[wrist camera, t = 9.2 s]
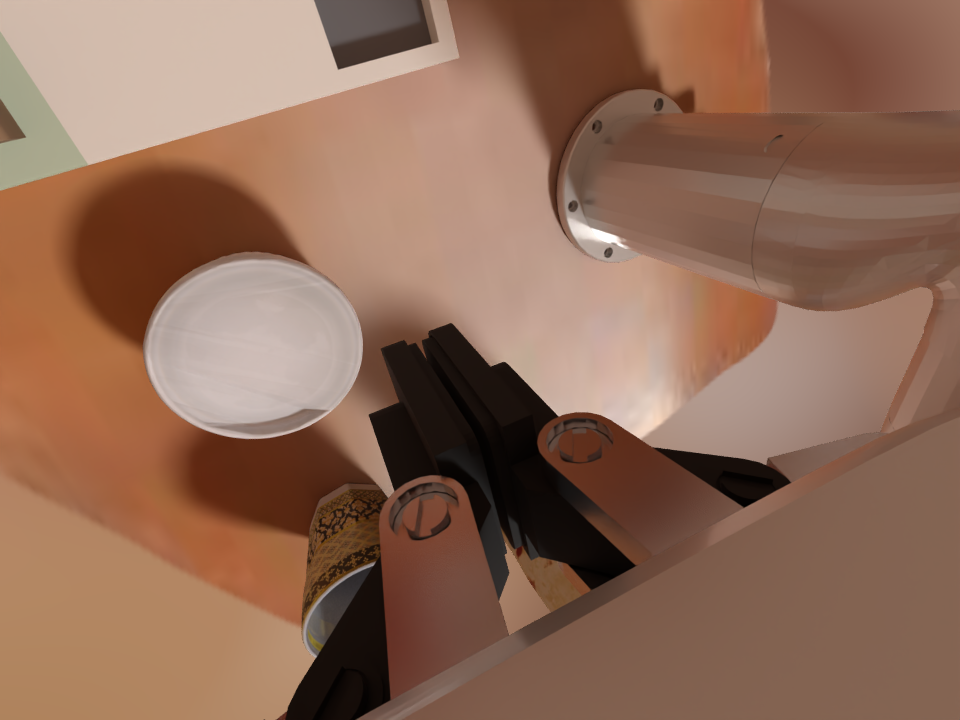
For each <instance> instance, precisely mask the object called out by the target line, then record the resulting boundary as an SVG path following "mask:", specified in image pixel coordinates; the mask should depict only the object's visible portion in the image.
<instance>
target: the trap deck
mask: <svg viewBox="0 0 960 720" xmlns="http://www.w3.org/2000/svg"><path fill="white" fill-rule="evenodd" d="M457 58H459V53H458V49H457V44H456V40H455V35H454V31H453V26H452V21H451V17H450V12H449V8H448V3H447V0H0V99H1V100H2V102H3V103H4V105H5V106H6V108H7V109H8V111H9V112H10V114H11V115H12V117H13V118H14V120H15V121H16V123H17V124H18V126H19V127H20V129H21V130H22V132H23V133H24V135H25V136H26V138H22V139H17V140H13V141H9V142H5V143H0V190H4V189H7V188H11V187H14V186H18V185H21V184H24V183H28V182H31V181H35V180H38V179H42V178H45V177H49V176H52V175H56V174H59V173H63V172H66V171H69V170H73V169H76V168H80V167H83V166H87V165H90V164H94V163H97V162H101V161H104V160H107V159H111V158H114V157H118V156H121V155H125V154H128V153H132V152H135V151H139V150H142V149H146V148H149V147H152V146H156V145H159V144H163V143H166V142H170V141H173V140H177V139H180V138H184V137H187V136H191V135H194V134H197V133H201V132H204V131H208V130H211V129H215V128H218V127H222V126H225V125H229V124H232V123H236V122H239V121H242V120H246V119H249V118H253V117H256V116H260V115H263V114H267V113H270V112H274V111H277V110H281V109H284V108H287V107H291V106H294V105H298V104H301V103H305V102H308V101H312V100H315V99H319V98H322V97H326V96H329V95H332V94H336V93H339V92H343V91H346V90H350V89H353V88H357V87H360V86H364V85H367V84H371V83H374V82H377V81H381V80H384V79H388V78H391V77H395V76H398V75H402V74H405V73H409V72H412V71H416V70H419V69H422V68H426V67H429V66H433V65H436V64H440V63H443V62H447V61H450V60H454V59H457Z"/></svg>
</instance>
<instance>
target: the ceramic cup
mask: <svg viewBox="0 0 960 720" xmlns="http://www.w3.org/2000/svg"><path fill="white" fill-rule="evenodd" d="M387 499H388V497H387V496H386V495H385V493H384V492H383V491H382V489H381V488H380V487H379V486H377V485H372V484H352V483H347V484H344V485H343V486H341V487H339V488H338V489H336V490H334V491H333V492H331V493H329V494H328V495H326V496H324V497H323V498H321V499H320V500H319V502H318V505H317V508H316V511H315V513H314V516H313V519H312V522H311V525H310V531H309V547H308V558H307V572H306V582H305V587H304V594H303V605H302V640H303V643H304V645H305V648H306V649H307V650H308V652H309V653H310V654H311V655H312V656H313V657H315V658H316V657H317V655H318V654H319V652H320V651H321V649H322V647H323V646H324V644H325V643H326V641H327V639H328V638H329V636H330V635H331V633H332V631H333V630H334V628H335V627H336V625H337V623H338V622H339V620H340V619H341V617H342V615H343V614H344V612H345V611H346V609H347V607H348V606H349V604H350V602H351V601H352V599H353V598H354V596H355V594H356V593H357V591H358V590H359V588H360V586H361V585H362V583H363V582H364V580H365V578H366V577H367V575H368V574H369V572H370V570H371V569H372V567H373V566H374V564H375V562H376V561H377V559H378V557H379V556H380V554H381V548H380V533H379V519H380V512H381V510H382V508H383V506H384V504H385V502H386V501H387Z"/></svg>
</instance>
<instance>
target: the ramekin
mask: <svg viewBox="0 0 960 720" xmlns="http://www.w3.org/2000/svg"><path fill="white" fill-rule="evenodd" d="M362 353H363V339H362V331H361V327H360V323H359V320H358V317H357V315H356V313H355V310H354V309H353V307H352V305H351V303H350V301H349V300H348V298H347V297H346V295H345V294H344V293H343V292H342V290H341V289H340V288H339V287H338V286H337V285H336V284H335V283H334V282H333V281H332V280H330V279H329V278H328V277H327V276H325V275H324V274H322V273H321V272H319V271H318V270H316V269H314V268H312V267H310V266H309V265H306V264H304V263H302V262H299V261H297V260H294V259H290V258H287V257H284V256H282V255H274V254H271V253H268V252H266V253H261V252H242V253H234V254H231V255H229V256H222V257H220V258H218V259H216V260H213V261H210V262H209V263H206V264H204V265H202V266H200V267H198V268H196V269H194V270H192V271H191V272H189V273H187V274H186V275H185V276H183V277H182V278H180V279H179V280H178V281H177V282H176V283H174V284H173V285H172V286H171V287H170V288H169V289H168V290H167V291H166V292H165V294H164V295H163V296H162V298H161V299H160V300H159V302H158V303H157V305H156V307H155V309H154V310H153V313H152V315H151V317H150V319H149V322H148V325H147V328H146V333H145V337H144V342H143V356H144V363H145V368H146V371H147V375H148V377H149V380H150V382H151V384H152V386H153V388H154V389H155V391H156V393H157V394H158V396H159V397H160V398H161V400H162V401H163V402H164V403H165V404H166V405H167V406H168V407H169V408H170V409H171V410H172V411H173V412H175V413H176V414H177V415H178V416H180V417H181V418H183V419H184V420H186V421H187V422H189V423H191V424H193V425H195V426H197V427H199V428H201V429H203V430H206V431H209V432H212V433H215V434H218V435H222V436H227V437H233V438H243V439H262V438H271V437H276V436H281V435H285V434H289V433H292V432H295V431H298V430H300V429H303V428H305V427H308V426H310V425H312V424H313V423H315V422H317V421H318V420H320V419H322V418H323V417H324V416H326V415H327V414H328V413H330V412H331V411H332V410H333V409H334V408H335V407H336V406H337V405H338V404H339V403H340V402H341V401H342V400H343V398H344V397H345V396H346V395H347V393H348V392H349V390H350V389H351V387H352V386H353V383H354V381H355V380H356V377H357V375H358V372H359V369H360V366H361V361H362Z"/></svg>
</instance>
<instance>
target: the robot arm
mask: <svg viewBox="0 0 960 720" xmlns="http://www.w3.org/2000/svg"><path fill="white" fill-rule="evenodd" d="M557 205H558V213H559V217H560V220H561V224H562V227H563V229H564V231H565V233H566V235H567V237H568V238H569V240H570V241H571V242H572V243H573V245H574V246H575V247H576V248H577V249H578V250H580V251H581V252H582V253H584V254H585V255H587V256H590V257H592V258H594V259H596V260H599V261H603V262H607V263H619V262H623V261H628V260H631V259H633V258H636V257H638V256H640V255H642V254H643V255H646V256H649V257H651V258H654V259H657V260H660V261H663V262H666V263H669V264H672V265H674V266H677V267H680V268H683V269H686V270H689V271H692V272H695V273H697V274H700V275H703V276H706V277H709V278H712V279H715V280H718V281H721V282H723V283H726V284H729V285H732V286H735V287H738V288H741V289H744V290H746V291H749V292H752V293H755V294H758V295H761V296H764V297H767V298H770V299H773V300H776V301H779V302H782V303H785V304H788V305H791V306H794V307H799V308H802V309H806V310H814V311H842V310H848V309H854V308H859V307H863V306H866V305H869V304H873V303H876V302H879V301H882V300H885V299H888V298H891V297H894V296H896V295H899V294H902V293H905V292H907V291H910V290H913V289H915V288H919V287H924V288H928V289H930V290H931V291H932V294H933V305H932V308H931V311H930V314H929V317H928V319H927V322H926V324H925V326H924V333H923V335H922V337H921V340H920V342H919V344H918V346H917V349H916V351H915V353H914V355H913V357H912V359H911V361H910V364H909V366H908V368H907V370H906V373H905V375H904V377H903V379H902V381H901V383H900V386H899V388H898V390H897V392H896V394H895V396H894V399H893V401H892V403H891V406H890V408H889V411H888V413H887V415H886V418H885V420H884V423H883V425H882V428H881V431H880V432H876V433H866V434H861V435H857V436H853V437H849V438H845V439H841V440H837V441H833V442H829V443H826V444H821V445H817V446H813V447H810V448H806V449H802V450H798V451H794V452H790V453H786V454H782V455H778V456H774V457H770V458H768V460H767V465H764V464H762V463H759V462H755V461H750V460H746V459H740V458H732V457H724V456H717V455H709V454H701V453H693V452H685V451H677V450H670V449H661V448H654V447H651V446H649V445H648V444H646V443H645V442H643V441H642V440H640V439H639V438H637V437H636V436H634V435H633V434H631V433H630V432H628V431H626V430H625V429H623V428H622V427H620V426H619V425H617V424H616V423H614V422H613V421H611V420H609V419H607V418H605V417H603V416H601V415H597V414H593V413H586V412H575V413H570V414H565V415H562V416H559V417H558V416H557V414H556V413H555V412H554V411H553V410H552V409H551V408H550V407H549V406H548V405H547V404H546V403H545V402H544V401H543V400H542V399H541V398H540V397H539V396H538V395H537V394H536V393H535V392H534V391H533V390H532V389H531V388H530V387H529V385H528V384H527V383H526V382H525V381H524V380H523V379H522V378H521V377H520V376H519V375H518V374H517V373H516V372H515V371H514V370H513V369H512V368H511V367H510V366H509V365H508V364H507V363H506V362H502V363H499V364H496V365H494V366H491V367H490V366H489V365H488V363H487V362H486V361H485V360H484V359H483V358H482V357H481V356H480V354H479V353H478V352H477V351H476V350H475V349H474V348H473V346H472V345H471V344H470V343H469V342H468V341H467V340H466V339H465V337H464V336H463V335H462V334H461V333H460V332H459V331H458V330H457V328H456V327H455V326H454V325H453V324H452V323H450V324H448V325H445V326H442V327H439V328H436V329H434V330H431V331H429V333H428V334H429V338H427V339H424V340H422V344H423V348H424V351H425V355H426V358H427V359H426V358H425V356H424V355H423V353H422V352H421V350H420V349H419V347H418V346H417V344H416V343H413V344H411V345H407V344H406V342H405V341H404V340H403V341H400V342H398V343H395V344H392V345H389V346H386V347H384V348H381V351H382V354H383V357H384V360H385V363H386V365H387V368H388V371H389V374H390V377H391V379H392V382H393V385H394V388H395V391H396V394H397V396H398V399H399V403H397V404H394V405H392V406H389V407H387V408H384V409H381V410H379V411H376V412H374V413H371V414H369V417H370V420H371V423H372V426H373V429H374V432H375V435H376V438H377V441H378V444H379V447H380V450H381V453H382V456H383V459H384V462H385V465H386V467H387V470H388V473H389V476H390V479H391V482H392V485H393V488H394V493H393V494H392V495H391V496H390V497H389V498H388V499H387V501H386V502H385V504H384V506H383V508H382V510H381V512H380V519H379V533H380V548H381V554H380V556H379V557H378V559H377V561H376V562H375V564H374V566H373V567H372V569H371V570H370V572H369V574H368V575H367V577H366V578H365V580H364V582H363V583H362V585H361V586H360V588H359V590H358V591H357V593H356V594H355V596H354V598H353V599H352V601H351V602H350V604H349V606H348V607H347V609H346V611H345V612H344V614H343V615H342V617H341V619H340V620H339V622H338V623H337V625H336V627H335V628H334V630H333V631H332V633H331V635H330V636H329V638H328V639H327V641H326V643H325V644H324V646H323V647H322V649H321V651H320V652H319V654H318V655H317V657H316V659H315V660H314V662H313V664H312V665H311V667H310V668H309V670H308V672H307V673H306V675H305V676H304V678H303V680H302V681H301V683H300V684H299V686H298V688H297V690H296V692H295V694H294V696H293V698H292V700H291V702H290V704H289V706H288V710H287V712H285V713H284V714H283V715H282V716H280V717H279V718H278V719H277V720H960V110H949V111H947V110H946V111H920V112H870V113H683V111H682V110H681V109H680V108H679V106H678V105H677V104H676V103H675V102H674V101H673V100H672V99H670V98H669V97H668V96H666V95H665V94H663V93H660V92H657V91H655V90H648V89H635V90H625V91H622V92H620V93H617V94H614V95H611V96H610V97H608V98H606V99H605V100H603V101H602V102H600V103H599V104H598V105H596V106H595V107H594V108H593V109H592V110H591V111H590V112H589V113H588V114H587V115H586V116H585V117H584V119H583V120H582V121H581V123H580V124H579V125H578V127H577V128H576V129H575V131H574V133H573V135H572V137H571V139H570V140H569V142H568V144H567V147H566V150H565V152H564V155H563V158H562V160H561V165H560V169H559V174H558V179H557ZM501 528H502V530H503V532H504V534H505V535H506V537H507V539H508V541H509V543H510V544H511V546H512V547H513V549H517V548H519V547H521V546H523V548H524V550H525V551H526V553H527V555H528V556H529V558H530V560H531V561H532V560H534V559H535V558H537V557H539V556H540V557H541V558H546V559H550V560H554V561H557V562H558V566H559V568H560V570H561V571H562V573H563V574H564V576H565V577H566V578H567V579H568V580H569V582H570V583H571V584H572V585H573V586H574V587H575V588H576V589H577V591H578V592H579V593H580V594H581V595H582V596H580V597H579V598H577V599H575V600H573V601H571V602H569V603H568V604H566V605H564V606H562V607H560V608H558V609H556V610H555V611H553V612H551V613H549V614H547V615H545V616H544V617H542V618H540V619H538V620H536V621H534V622H533V623H531V624H529V625H527V626H525V627H523V628H522V629H520V630H518V631H516V632H514V633H513V634H511V635H509V633H508V630H507V626H506V623H505V620H504V616H503V613H502V609H501V606H500V603H499V599H500V596H501V594H502V591H503V588H504V586H505V583H506V580H507V577H508V575H509V570H508V566H507V563H506V559H505V554H506V553H507V550H506V546H505V542H504V538H503V534H502V531H501Z"/></svg>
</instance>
